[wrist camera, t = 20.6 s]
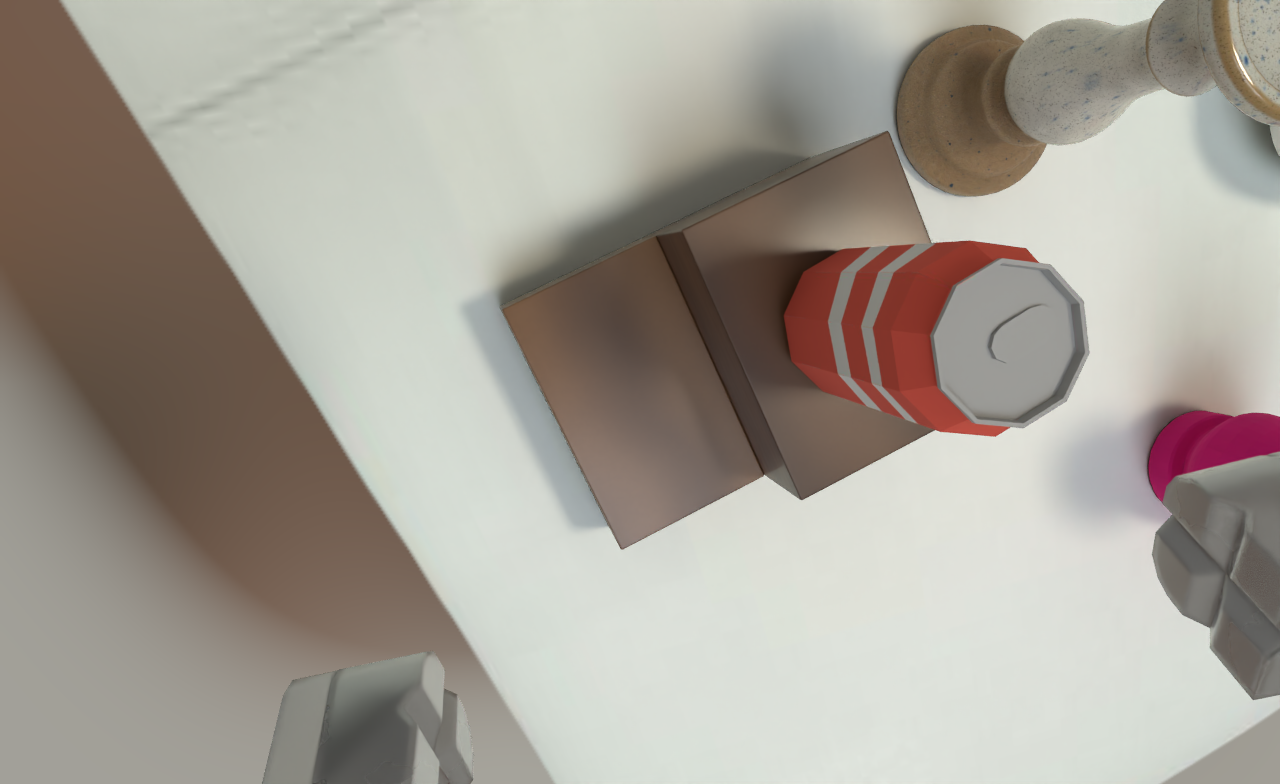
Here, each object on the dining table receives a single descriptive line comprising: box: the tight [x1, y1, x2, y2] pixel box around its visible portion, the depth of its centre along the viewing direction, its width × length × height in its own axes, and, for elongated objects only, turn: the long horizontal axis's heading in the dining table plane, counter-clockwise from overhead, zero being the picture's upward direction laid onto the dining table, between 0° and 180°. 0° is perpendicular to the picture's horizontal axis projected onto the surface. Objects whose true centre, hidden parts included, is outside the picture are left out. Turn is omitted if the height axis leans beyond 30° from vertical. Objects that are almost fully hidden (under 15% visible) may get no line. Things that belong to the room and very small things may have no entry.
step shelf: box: [500, 131, 934, 549], centre depth 42 cm, size 18×13×9 cm
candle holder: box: [897, 0, 1280, 196], centre depth 37 cm, size 9×9×20 cm
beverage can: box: [784, 241, 1089, 437], centre depth 32 cm, size 6×6×12 cm
